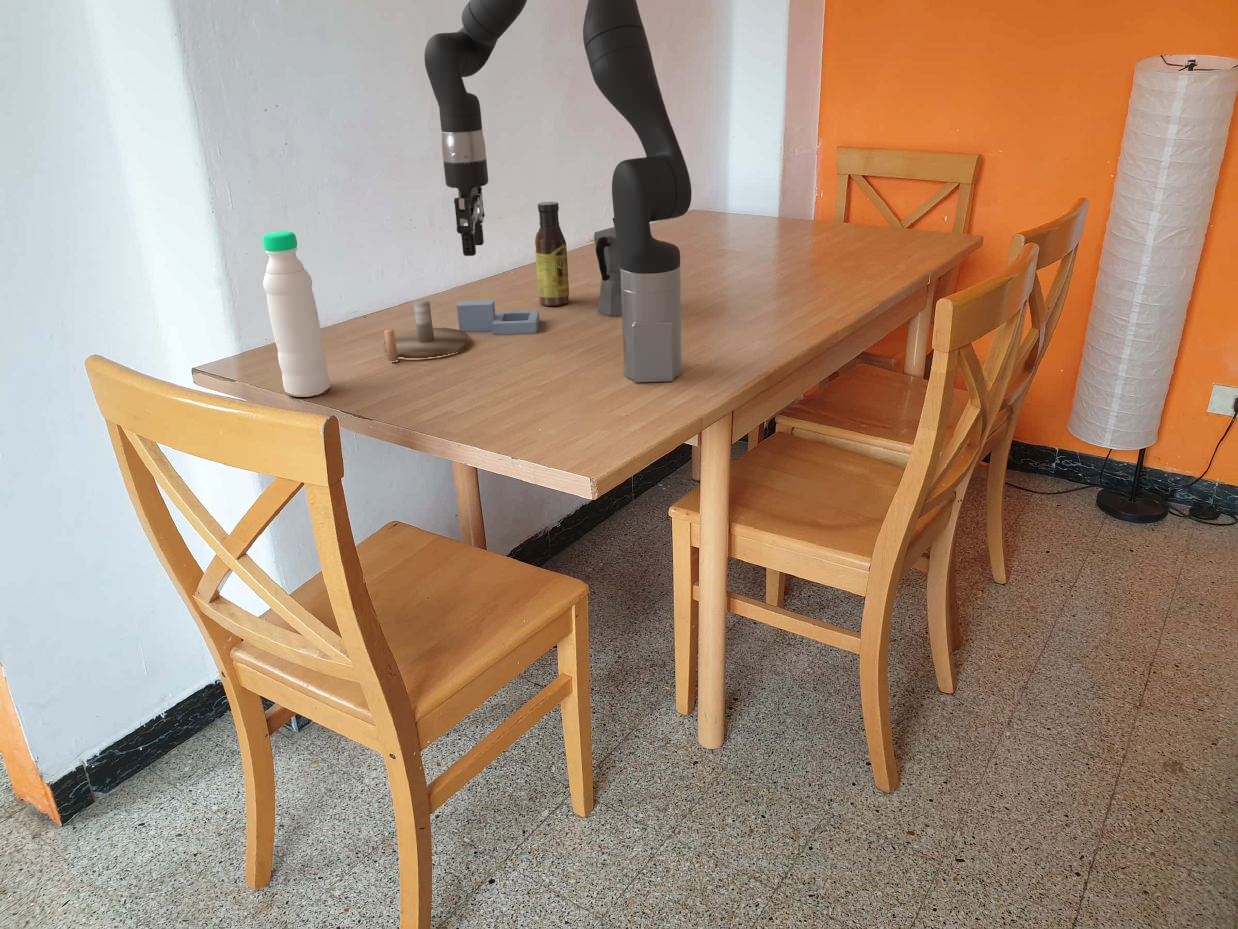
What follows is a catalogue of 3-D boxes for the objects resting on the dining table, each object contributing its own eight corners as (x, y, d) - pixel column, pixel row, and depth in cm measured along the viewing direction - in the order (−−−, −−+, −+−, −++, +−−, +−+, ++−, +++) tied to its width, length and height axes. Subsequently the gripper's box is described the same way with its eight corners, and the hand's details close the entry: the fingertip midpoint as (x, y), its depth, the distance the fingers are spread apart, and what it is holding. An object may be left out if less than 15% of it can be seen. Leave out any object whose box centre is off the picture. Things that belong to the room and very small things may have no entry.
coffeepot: (612, 299, 194) (608, 209, 187) (655, 303, 191) (653, 211, 183) (579, 320, 182) (573, 225, 174) (624, 325, 178) (620, 227, 170)
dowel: (397, 362, 163) (392, 331, 161) (387, 363, 163) (383, 332, 161) (399, 359, 165) (394, 329, 162) (390, 360, 165) (385, 329, 162)
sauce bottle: (565, 307, 190) (558, 206, 182) (535, 307, 192) (527, 206, 183) (573, 298, 196) (567, 200, 188) (544, 298, 197) (536, 200, 189)
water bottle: (314, 380, 157) (285, 226, 146) (340, 389, 153) (312, 231, 142) (276, 393, 152) (243, 235, 141) (301, 402, 148) (270, 240, 137)
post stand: (462, 358, 164) (457, 313, 160) (375, 361, 164) (368, 316, 161) (475, 332, 177) (470, 290, 174) (394, 335, 178) (388, 293, 174)
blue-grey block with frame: (539, 320, 183) (537, 294, 181) (536, 332, 176) (533, 306, 174) (464, 323, 183) (461, 297, 181) (457, 335, 176) (454, 309, 174)
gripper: (479, 162, 161) (488, 258, 167) (492, 151, 173) (500, 240, 180) (435, 164, 161) (445, 259, 168) (451, 152, 174) (460, 241, 181)
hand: (474, 249), depth 174 cm, fingers open, 8 cm apart
